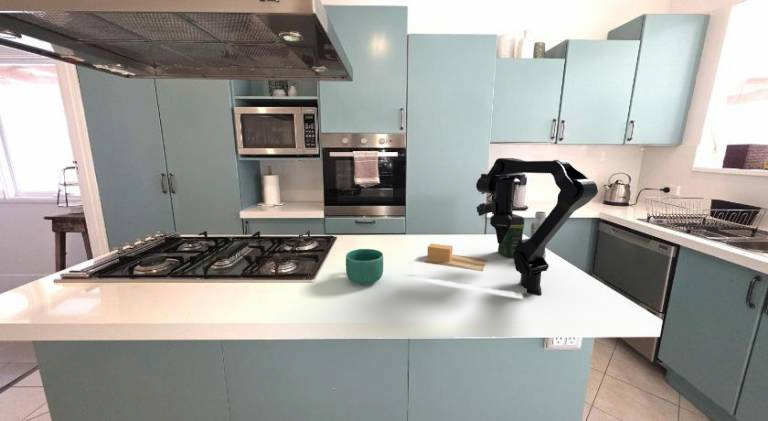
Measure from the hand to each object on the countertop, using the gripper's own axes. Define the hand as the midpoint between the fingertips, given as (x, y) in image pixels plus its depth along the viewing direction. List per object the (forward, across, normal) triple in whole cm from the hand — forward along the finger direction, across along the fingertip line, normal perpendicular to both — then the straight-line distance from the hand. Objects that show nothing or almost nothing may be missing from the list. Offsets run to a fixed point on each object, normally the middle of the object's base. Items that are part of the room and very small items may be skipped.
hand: (500, 240), depth 106 cm
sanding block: (+12, -5, -22) cm, 25 cm away
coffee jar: (+13, -22, +3) cm, 26 cm away
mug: (+13, +22, -42) cm, 49 cm away
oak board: (+13, -5, -16) cm, 21 cm away
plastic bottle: (+13, -22, +13) cm, 29 cm away
